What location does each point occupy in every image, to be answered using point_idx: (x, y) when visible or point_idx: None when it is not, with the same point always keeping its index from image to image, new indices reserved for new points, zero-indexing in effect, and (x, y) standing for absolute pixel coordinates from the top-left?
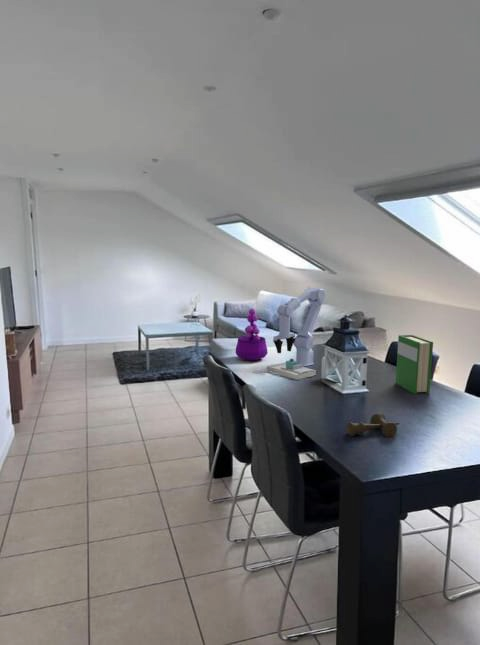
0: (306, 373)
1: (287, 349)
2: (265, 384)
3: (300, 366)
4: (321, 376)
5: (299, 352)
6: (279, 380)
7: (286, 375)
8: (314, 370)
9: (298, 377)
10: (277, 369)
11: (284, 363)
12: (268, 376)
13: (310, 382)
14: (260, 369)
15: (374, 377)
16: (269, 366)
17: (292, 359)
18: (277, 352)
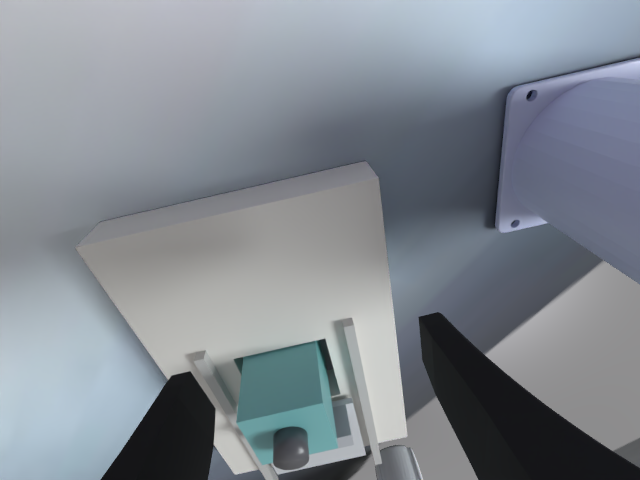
0: None
1: (428, 337)
2: (14, 470)
3: None
4: (377, 467)
5: (628, 254)
6: (128, 436)
7: None
8: (403, 433)
9: None
10: (157, 360)
11: (328, 218)
12: (71, 364)
13: (285, 476)
14: (28, 153)
15: None
16: (100, 272)
17: (287, 468)
18: (168, 386)
